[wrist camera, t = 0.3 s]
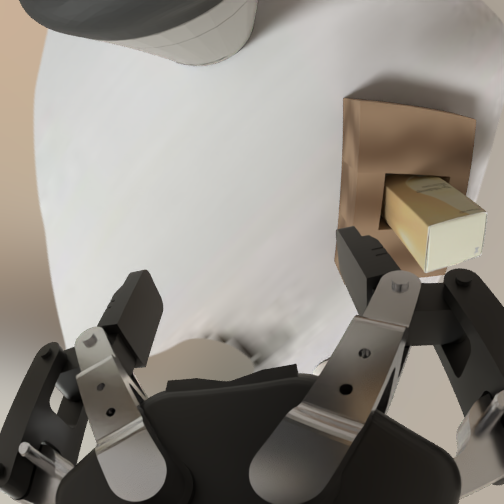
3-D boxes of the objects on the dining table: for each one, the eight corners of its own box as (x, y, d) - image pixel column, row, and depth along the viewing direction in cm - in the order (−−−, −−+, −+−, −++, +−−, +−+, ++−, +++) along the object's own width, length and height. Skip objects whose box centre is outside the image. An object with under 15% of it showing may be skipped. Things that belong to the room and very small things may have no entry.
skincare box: (419, 162, 28) (491, 209, 17) (421, 199, 30) (484, 256, 19) (367, 172, 28) (428, 226, 18) (371, 210, 31) (425, 276, 20)
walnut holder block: (343, 97, 25) (360, 101, 21) (451, 112, 24) (476, 119, 21) (334, 261, 34) (344, 284, 30) (427, 254, 34) (444, 274, 30)
